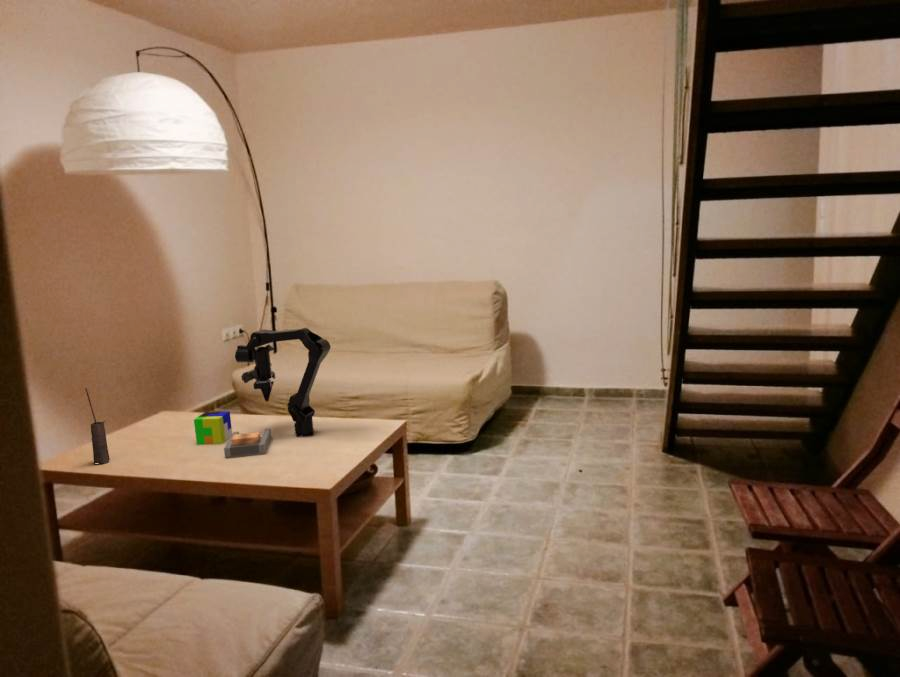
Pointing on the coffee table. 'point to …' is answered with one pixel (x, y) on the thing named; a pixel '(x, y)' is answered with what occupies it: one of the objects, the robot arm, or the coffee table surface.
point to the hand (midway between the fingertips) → (267, 401)
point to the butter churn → (98, 439)
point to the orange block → (245, 439)
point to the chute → (248, 446)
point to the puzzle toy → (213, 427)
